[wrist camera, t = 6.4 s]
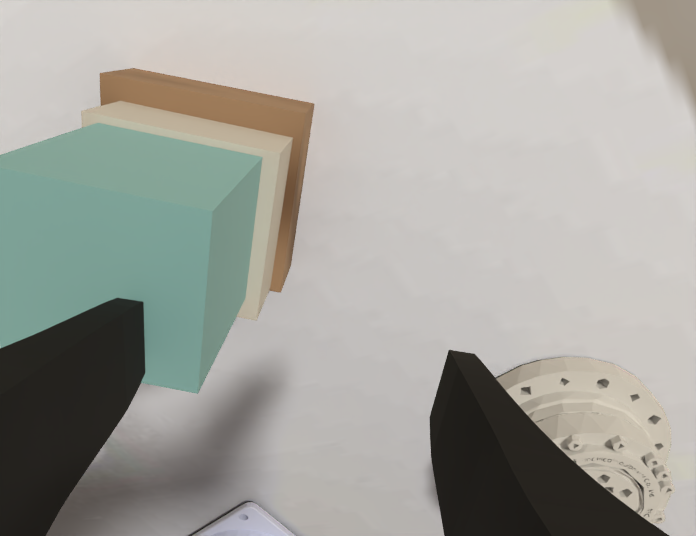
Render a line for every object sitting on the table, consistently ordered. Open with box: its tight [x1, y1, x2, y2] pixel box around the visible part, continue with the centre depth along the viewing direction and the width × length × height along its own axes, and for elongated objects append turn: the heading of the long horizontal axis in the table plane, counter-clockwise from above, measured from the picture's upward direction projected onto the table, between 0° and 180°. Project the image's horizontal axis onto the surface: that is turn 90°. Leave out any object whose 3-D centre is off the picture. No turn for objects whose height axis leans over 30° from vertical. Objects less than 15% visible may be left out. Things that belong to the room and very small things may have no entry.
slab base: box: [100, 68, 314, 292], centre depth 20 cm, size 7×7×3 cm
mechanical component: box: [496, 357, 675, 524], centre depth 24 cm, size 10×4×10 cm
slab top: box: [81, 101, 293, 321], centre depth 17 cm, size 6×6×2 cm
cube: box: [0, 123, 263, 394], centre depth 14 cm, size 5×5×5 cm
